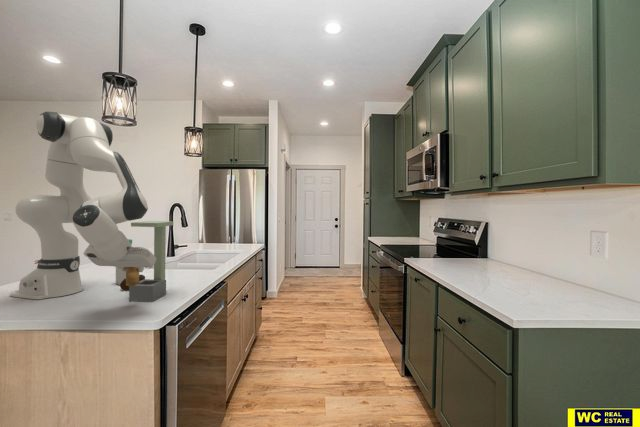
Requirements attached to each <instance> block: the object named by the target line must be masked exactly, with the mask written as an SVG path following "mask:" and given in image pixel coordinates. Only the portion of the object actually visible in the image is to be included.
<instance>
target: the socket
mask: <svg viewBox="0 0 640 427" xmlns="http://www.w3.org/2000/svg"><path fill="white" fill-rule="evenodd" d="M128 292H129V293H128V301H129V302H142V303H143V302H147V303H153V302H155V301H157V300H159V299H161V298H163V297H165V296H166V295H167V279H165V280H154V279H152V278H151V279H150V278H149V279H147V278H145V279H144V280H141V281H139V284H138V285H133V286H129V291H128Z"/></svg>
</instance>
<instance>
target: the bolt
mask: <svg viewBox="0 0 640 427" xmlns="http://www.w3.org/2000/svg"><path fill="white" fill-rule="evenodd" d="M144 279H146V276H145V275H143V274H139V281H141V280H144ZM119 286H120V289H121V290H122V291H123V292H129V286H127V285H126V279H124V280H123V281H122V282H121V284H120V285H119Z"/></svg>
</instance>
